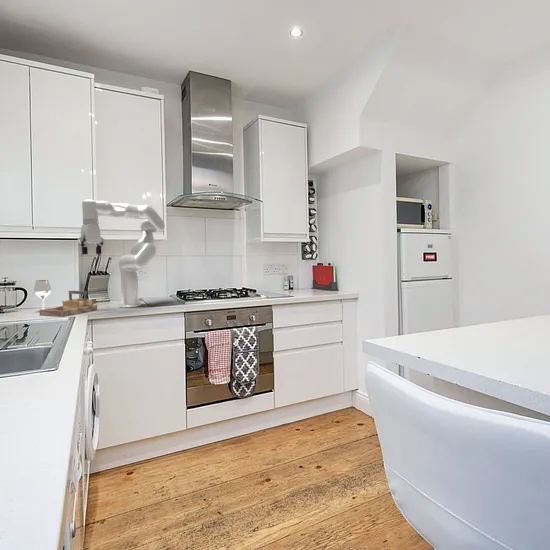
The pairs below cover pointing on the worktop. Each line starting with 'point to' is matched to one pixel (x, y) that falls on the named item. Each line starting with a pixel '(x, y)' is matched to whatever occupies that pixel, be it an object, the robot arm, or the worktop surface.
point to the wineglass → (42, 289)
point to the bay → (66, 311)
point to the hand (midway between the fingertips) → (92, 254)
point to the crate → (76, 301)
